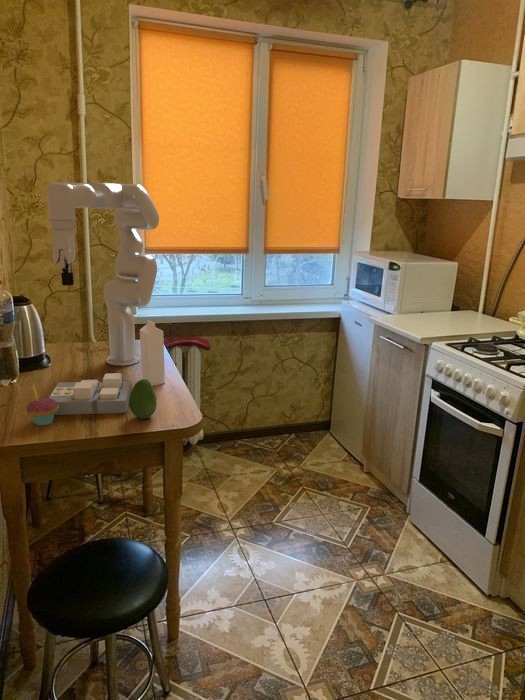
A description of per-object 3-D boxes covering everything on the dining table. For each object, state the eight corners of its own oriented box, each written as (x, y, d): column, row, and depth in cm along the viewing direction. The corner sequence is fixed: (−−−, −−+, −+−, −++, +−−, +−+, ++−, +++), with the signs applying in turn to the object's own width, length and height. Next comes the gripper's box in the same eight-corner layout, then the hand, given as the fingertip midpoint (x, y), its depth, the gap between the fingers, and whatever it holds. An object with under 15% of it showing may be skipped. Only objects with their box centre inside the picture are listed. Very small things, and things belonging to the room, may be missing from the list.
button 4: (103, 402, 166) (102, 388, 165) (119, 402, 167) (118, 387, 165) (100, 409, 161) (99, 394, 160) (117, 409, 162) (116, 393, 160)
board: (59, 394, 173) (58, 381, 172) (131, 392, 176) (131, 379, 175) (46, 415, 158) (45, 401, 156) (126, 412, 161) (125, 399, 159)
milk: (149, 387, 181) (146, 324, 175) (141, 381, 186) (138, 320, 179) (165, 383, 185) (163, 322, 178) (157, 378, 189) (155, 318, 183)
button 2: (82, 394, 172) (81, 380, 171) (98, 394, 173) (97, 379, 171) (79, 400, 167) (78, 385, 166) (96, 400, 168) (95, 385, 167)
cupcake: (28, 430, 148) (23, 390, 144) (27, 418, 155) (23, 379, 152) (61, 425, 151) (57, 386, 148) (59, 414, 159) (55, 376, 155)
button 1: (77, 397, 164) (76, 382, 163) (94, 397, 165) (93, 382, 164) (74, 403, 160) (73, 388, 158) (91, 403, 160) (90, 388, 159)
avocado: (159, 412, 162) (158, 375, 158) (154, 423, 154) (152, 384, 150) (133, 411, 162) (131, 374, 158) (126, 422, 154) (124, 384, 150)
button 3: (106, 388, 173) (105, 373, 171) (122, 387, 173) (121, 373, 172) (103, 393, 168) (102, 379, 166) (120, 393, 168) (119, 378, 167)
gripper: (56, 223, 169) (61, 280, 174) (43, 227, 155) (49, 289, 160) (80, 223, 170) (84, 280, 175) (70, 227, 156) (75, 289, 161)
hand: (68, 284), depth 168 cm, fingers closed
